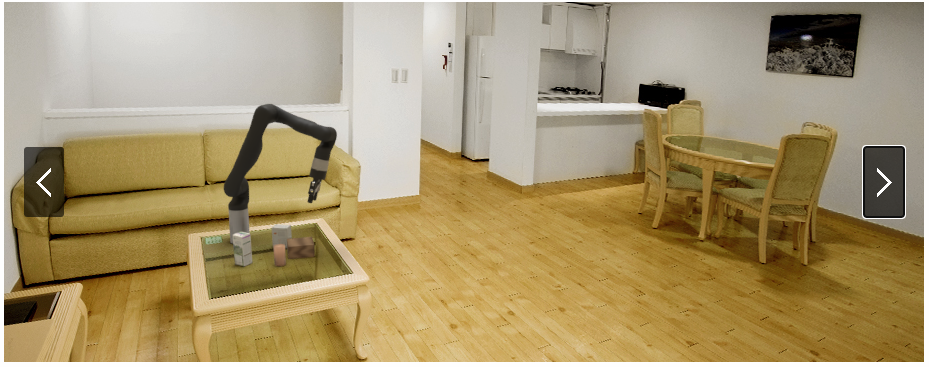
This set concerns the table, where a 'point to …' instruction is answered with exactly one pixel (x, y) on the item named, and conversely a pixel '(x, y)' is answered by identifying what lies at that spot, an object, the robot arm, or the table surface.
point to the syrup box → (242, 248)
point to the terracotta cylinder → (279, 255)
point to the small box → (281, 234)
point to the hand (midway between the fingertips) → (311, 201)
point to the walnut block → (300, 247)
